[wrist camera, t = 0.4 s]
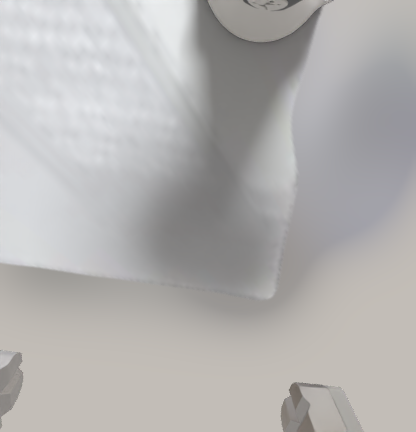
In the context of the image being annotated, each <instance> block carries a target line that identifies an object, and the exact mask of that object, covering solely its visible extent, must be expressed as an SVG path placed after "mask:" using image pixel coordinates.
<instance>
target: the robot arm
mask: <svg viewBox="0 0 416 432" xmlns="http://www.w3.org/2000/svg"><path fill="white" fill-rule="evenodd" d="M331 1H333V0H208V3H209V5H210V7H211V9H212V11H213V13H214V15H215V16H216V18H217V19H218V20H219V22H220V23H221V24H222V25H223V26H224V27H225V28H226V29H227V30H228V31H230V32H231V33H232V34H234V35H236V36H238V37H240V38H242V39H245V40H248V41H252V42H270V41H275V40H278V39H281V38H283V37H285V36H287V35H289V34H291V33H292V32H294V31H295V30H297V29H298V28H299V27H300V26H302V25H303V24H304V23H305V22H306V21H307V19H308V18H309V17H310V16H311V15H312V14H313V13H314V12H315V11H316V10H317V9H318V8H319V7H321V6H323V5H325V4H327V3H329V2H331ZM21 362H22V355H21V353H18V352H11V351H3V350H0V428H1V426H2V424H1V416H2V415H4V414H5V413H7V412H8V411H9V410H11V409H12V407H13V405H14V403H15V402H16V400H17V398H18V395H19V392H20V390H21V387H22V382H23V372H22V371H21V370H20V369H19V368H18V367H19V366H20V364H21ZM289 391H290V396H289V397H287V398H286V399H285V400H284V402H283V405H282V409H281V421H282V427H283V431H284V432H364V431H363V429H362V427H361V425H360V423H359V421H358V419H357V417H356V415H355V413H354V411H353V409H352V407H351V405H350V403H349V400H348V398H347V396H346V394H345V392H344V391H343V390H342V389H341V388H340V387H334V386H324V385H318V384H308V383H297V382H295V383H293V384H292V385H291V387H290V389H289Z"/></svg>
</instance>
